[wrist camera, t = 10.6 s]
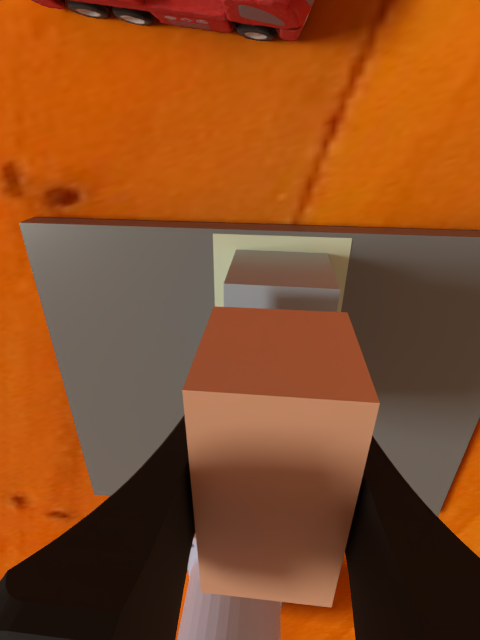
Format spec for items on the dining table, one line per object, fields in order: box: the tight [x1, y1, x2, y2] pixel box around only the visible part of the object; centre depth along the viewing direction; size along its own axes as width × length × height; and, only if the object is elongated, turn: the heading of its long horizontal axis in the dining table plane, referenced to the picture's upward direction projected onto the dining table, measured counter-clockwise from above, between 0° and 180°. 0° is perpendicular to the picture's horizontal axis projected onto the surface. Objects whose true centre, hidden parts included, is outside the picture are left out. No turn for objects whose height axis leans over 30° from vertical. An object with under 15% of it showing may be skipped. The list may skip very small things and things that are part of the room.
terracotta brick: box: [182, 306, 380, 608], centre depth 11 cm, size 8×4×4 cm, turn 0°
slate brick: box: [224, 250, 340, 312], centre depth 16 cm, size 8×4×4 cm, turn 179°
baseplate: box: [19, 217, 480, 517], centre depth 21 cm, size 19×23×1 cm
